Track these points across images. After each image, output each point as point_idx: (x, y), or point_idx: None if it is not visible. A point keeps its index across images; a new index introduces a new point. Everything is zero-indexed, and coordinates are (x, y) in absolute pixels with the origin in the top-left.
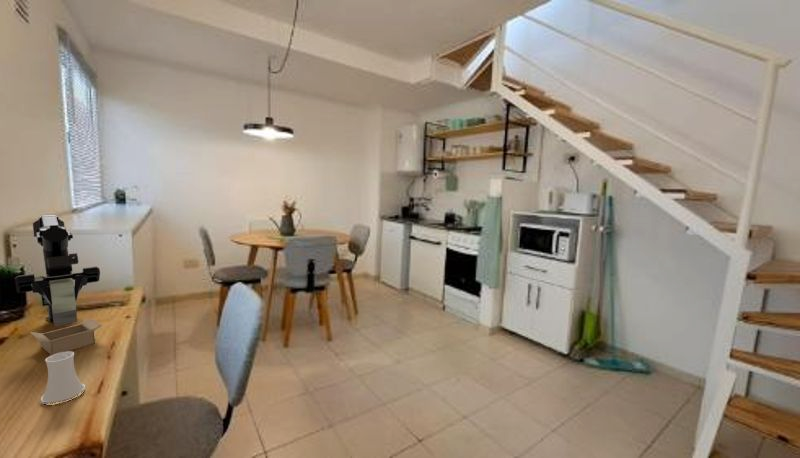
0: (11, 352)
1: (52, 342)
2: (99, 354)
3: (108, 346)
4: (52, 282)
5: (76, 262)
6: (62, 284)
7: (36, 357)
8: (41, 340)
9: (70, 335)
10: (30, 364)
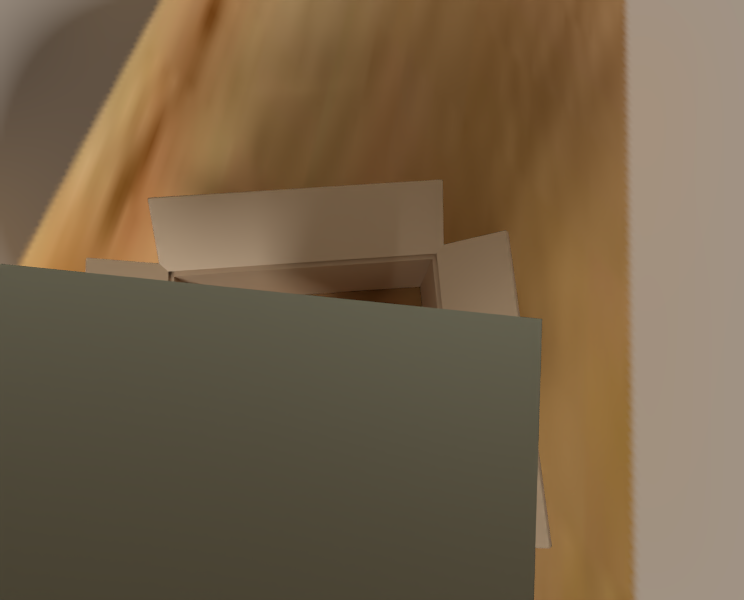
0: (609, 562)
1: (429, 247)
2: (235, 88)
3: (160, 169)
4: None
5: None
6: (83, 284)
7: None
8: (498, 242)
9: (325, 189)
10: (529, 236)
